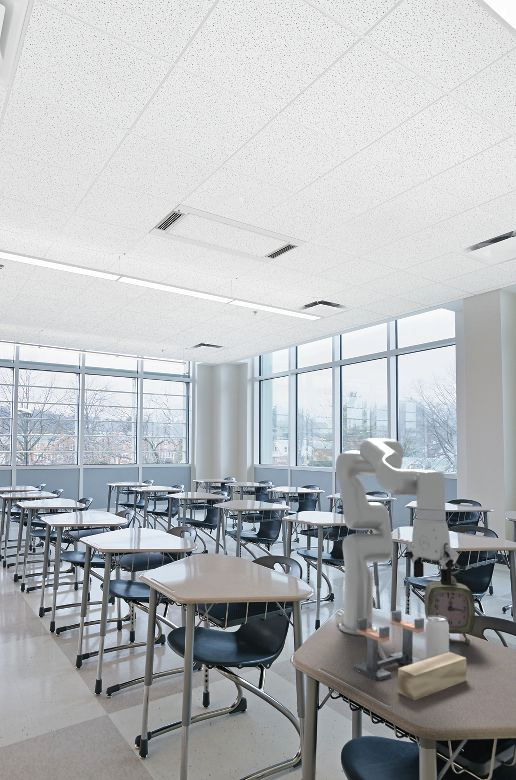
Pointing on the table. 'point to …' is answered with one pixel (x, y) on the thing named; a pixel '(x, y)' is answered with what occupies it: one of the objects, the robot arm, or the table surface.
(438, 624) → the can
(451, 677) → the rail
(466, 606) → the tabletop clock
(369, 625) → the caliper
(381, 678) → the grey support stand
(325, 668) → the table surface
